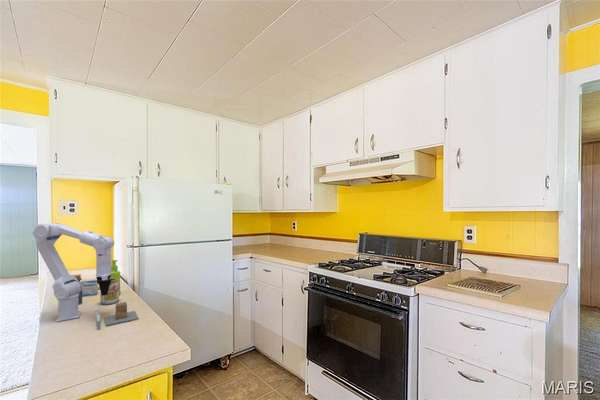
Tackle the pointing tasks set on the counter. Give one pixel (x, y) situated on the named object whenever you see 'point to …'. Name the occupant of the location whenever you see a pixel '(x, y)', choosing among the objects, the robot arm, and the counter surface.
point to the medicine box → (89, 287)
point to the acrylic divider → (98, 320)
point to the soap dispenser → (115, 272)
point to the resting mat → (112, 319)
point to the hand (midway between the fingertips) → (103, 293)
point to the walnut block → (121, 310)
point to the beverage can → (111, 293)
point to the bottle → (81, 290)
